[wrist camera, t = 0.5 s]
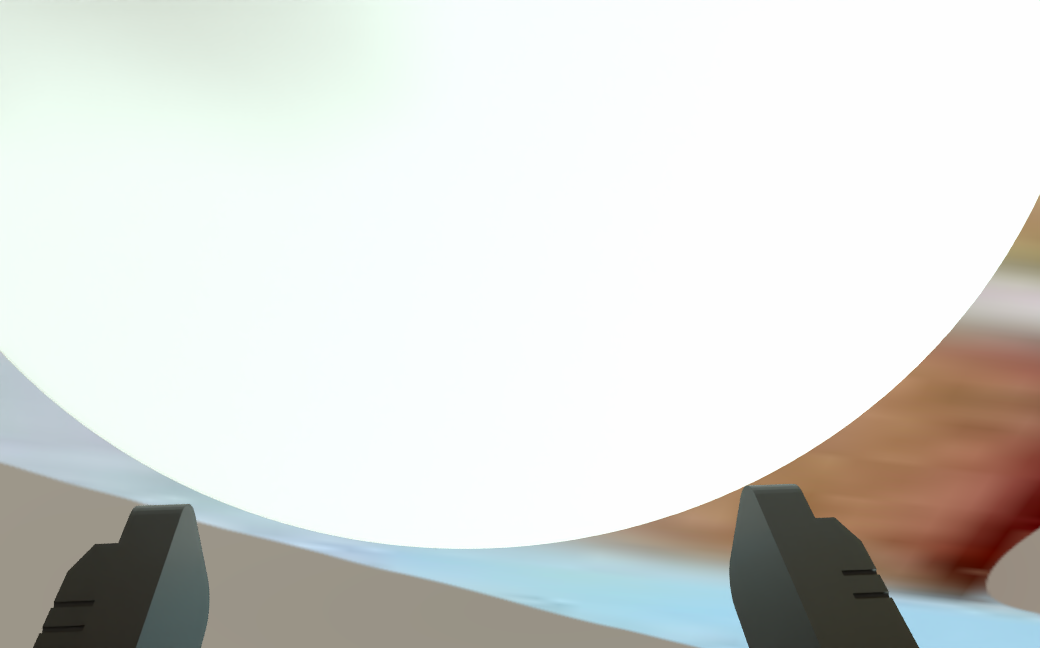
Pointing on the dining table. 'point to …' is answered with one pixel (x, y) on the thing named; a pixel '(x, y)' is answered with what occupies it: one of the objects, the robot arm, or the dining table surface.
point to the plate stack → (498, 240)
